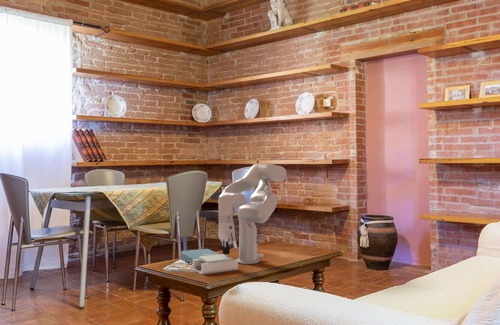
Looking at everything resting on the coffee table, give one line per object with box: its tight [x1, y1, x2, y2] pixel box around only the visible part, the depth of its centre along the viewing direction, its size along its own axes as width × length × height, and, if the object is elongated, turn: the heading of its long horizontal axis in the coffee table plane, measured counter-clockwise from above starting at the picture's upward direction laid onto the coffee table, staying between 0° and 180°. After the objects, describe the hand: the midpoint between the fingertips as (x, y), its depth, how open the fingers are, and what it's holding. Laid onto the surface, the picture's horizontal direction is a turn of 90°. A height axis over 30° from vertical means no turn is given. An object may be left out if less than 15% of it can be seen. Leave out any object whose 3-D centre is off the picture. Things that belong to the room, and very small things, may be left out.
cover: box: [199, 253, 234, 263], centre depth 241 cm, size 14×11×1 cm
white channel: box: [192, 255, 239, 275], centre depth 241 cm, size 20×11×5 cm, turn 122°
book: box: [180, 248, 220, 265], centre depth 258 cm, size 23×16×5 cm
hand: (226, 254), depth 245 cm, fingers closed
